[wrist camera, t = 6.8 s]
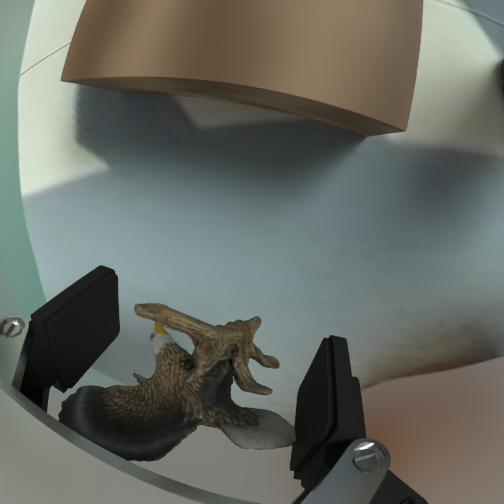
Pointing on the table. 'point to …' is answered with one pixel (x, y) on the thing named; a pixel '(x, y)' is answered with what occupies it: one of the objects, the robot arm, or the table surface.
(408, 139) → the table surface
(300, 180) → the table surface
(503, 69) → the character mug
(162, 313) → the eagle figurine
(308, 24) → the walnut block
